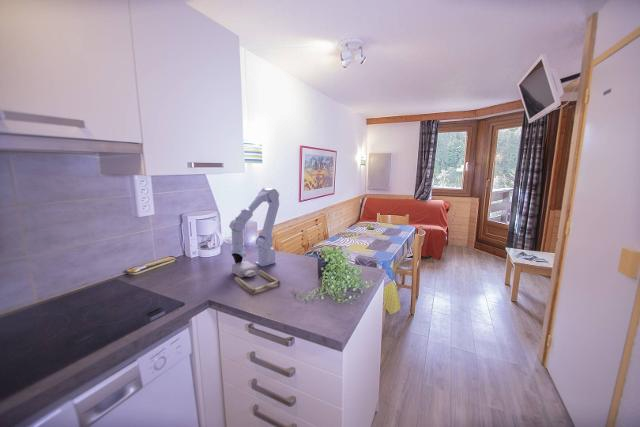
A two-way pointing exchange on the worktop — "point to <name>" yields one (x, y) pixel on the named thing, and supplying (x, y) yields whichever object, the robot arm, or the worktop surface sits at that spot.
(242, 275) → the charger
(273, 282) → the frame
